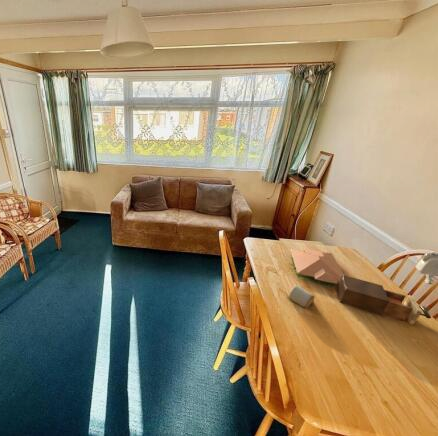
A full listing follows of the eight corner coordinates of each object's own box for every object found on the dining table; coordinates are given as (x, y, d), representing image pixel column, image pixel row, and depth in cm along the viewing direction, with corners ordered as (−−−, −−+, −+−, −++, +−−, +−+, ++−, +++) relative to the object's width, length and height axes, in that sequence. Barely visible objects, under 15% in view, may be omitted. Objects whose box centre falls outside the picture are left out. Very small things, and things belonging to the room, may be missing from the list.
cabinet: (373, 300, 110) (382, 285, 106) (380, 317, 101) (389, 301, 97) (336, 289, 117) (342, 274, 112) (338, 304, 108) (346, 288, 104)
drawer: (417, 312, 102) (426, 299, 99) (427, 329, 94) (437, 316, 91) (365, 297, 110) (372, 285, 107) (370, 312, 102) (378, 299, 99)
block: (395, 308, 103) (400, 300, 101) (399, 314, 99) (404, 307, 98) (382, 304, 105) (386, 296, 103) (385, 310, 102) (389, 303, 100)
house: (296, 281, 123) (300, 268, 119) (288, 250, 150) (291, 239, 147) (348, 292, 115) (354, 279, 111) (329, 257, 142) (334, 246, 139)
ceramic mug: (305, 312, 104) (310, 299, 100) (286, 301, 110) (291, 288, 106) (315, 302, 109) (320, 289, 106) (296, 292, 115) (301, 280, 112)
